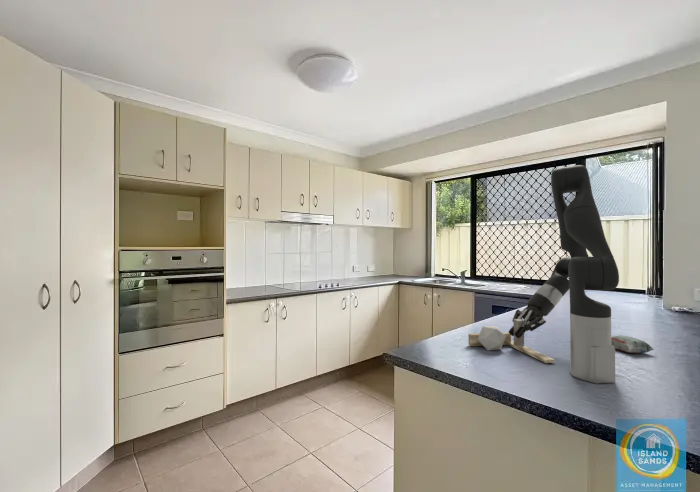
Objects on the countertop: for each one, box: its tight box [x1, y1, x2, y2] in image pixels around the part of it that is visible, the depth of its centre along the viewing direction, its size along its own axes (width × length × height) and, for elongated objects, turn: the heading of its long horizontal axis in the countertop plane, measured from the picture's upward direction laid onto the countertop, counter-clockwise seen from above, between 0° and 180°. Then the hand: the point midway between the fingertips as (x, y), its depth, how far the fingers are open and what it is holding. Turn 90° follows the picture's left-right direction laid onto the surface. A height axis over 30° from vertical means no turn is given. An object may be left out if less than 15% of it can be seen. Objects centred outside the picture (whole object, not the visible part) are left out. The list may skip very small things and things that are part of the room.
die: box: [477, 325, 506, 351], centre depth 116 cm, size 8×9×10 cm
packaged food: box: [611, 334, 655, 354], centre depth 114 cm, size 9×12×5 cm
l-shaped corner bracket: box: [467, 318, 555, 364], centre depth 111 cm, size 22×17×10 cm
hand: (513, 335), depth 116 cm, fingers closed on l-shaped corner bracket, 2 cm apart
